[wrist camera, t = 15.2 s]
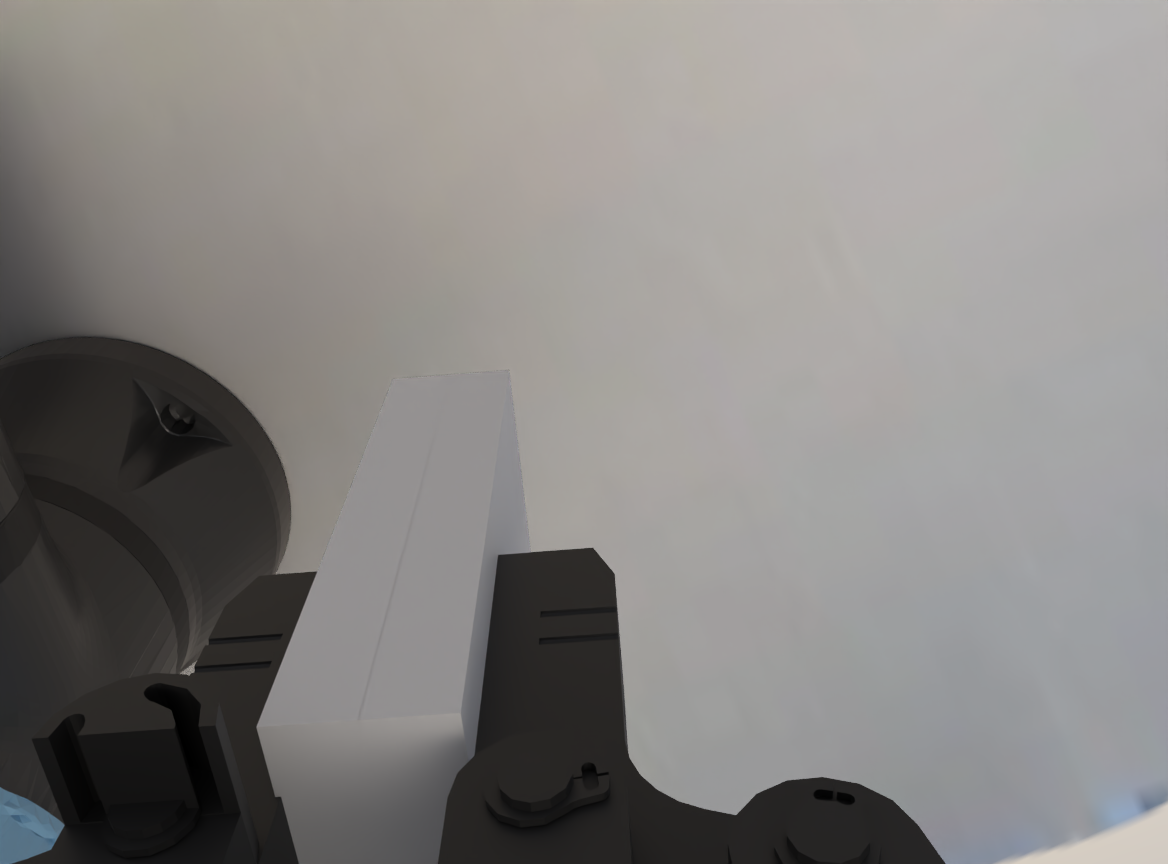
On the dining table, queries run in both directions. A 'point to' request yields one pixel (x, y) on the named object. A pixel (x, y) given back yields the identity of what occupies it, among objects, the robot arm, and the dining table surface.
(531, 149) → the dining table surface
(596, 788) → the robot arm
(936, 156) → the dining table surface
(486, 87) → the dining table surface
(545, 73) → the dining table surface
